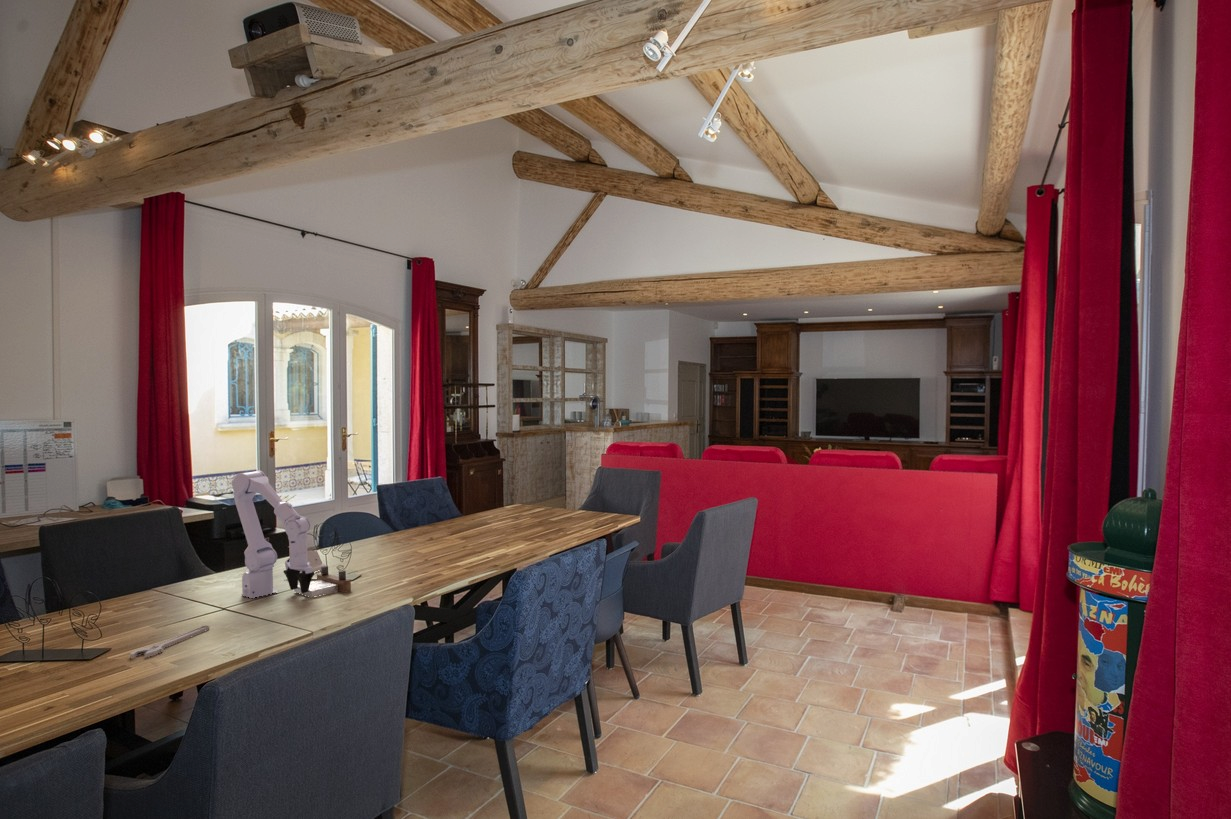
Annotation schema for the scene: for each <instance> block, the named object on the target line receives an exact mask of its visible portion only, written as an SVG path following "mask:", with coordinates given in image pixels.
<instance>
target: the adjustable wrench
mask: <svg viewBox="0 0 1231 819" xmlns="http://www.w3.org/2000/svg"><path fill="white" fill-rule="evenodd" d="M208 629H209V630H210V626H209V625H201V626H198V627H196V628H194V629H191V630H189V631H186V632H184V633H182V634H179V635H177V636H174V637H171V638H169V639H167V640H164V641H162V642H159V643H157V644H153V645H149V646H146V647H140V648H137V649H134V650H133V651H131V652H130V659H131V660H133V659H136V658H137V657H138V655H139V656H142V655H141V654H144V658H145V659H148V658H151V657H150V656H152V657H154V656H153V655H155V656H157V655H159V654H158V653H160V654H162V653H163V652H164V648H165V647H167V648H169V647H171V646H170V645H172V646H173V644H174V645H176V644H178V643H177V642H179V643H180V641H181V642H183V640H184V641H185V639H186V640H188V639H190V638H189V637H191V636H193V637H195V636H194V635H196V636H198V635H200V634H202V633H201V632H203V633H205V632H206V631H205V630H208ZM209 630H208V631H209ZM204 631H205V632H204ZM199 633H200V634H199ZM197 634H198V635H197ZM187 638H188V639H187ZM191 638H192V637H191ZM175 643H176V644H175ZM168 646H169V647H168ZM165 649H166V648H165ZM161 652H162V653H161ZM156 654H157V655H156ZM136 656H137V657H136ZM147 657H148V658H147Z"/></svg>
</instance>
